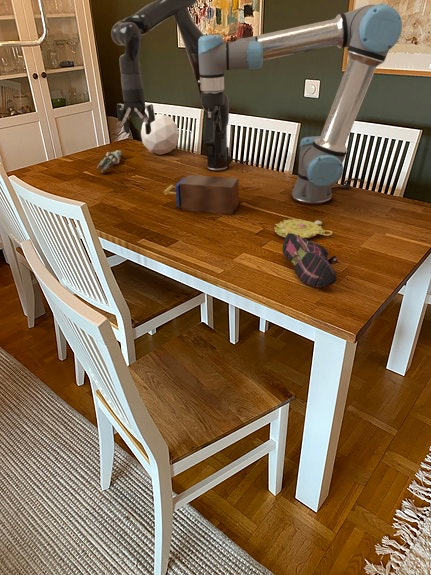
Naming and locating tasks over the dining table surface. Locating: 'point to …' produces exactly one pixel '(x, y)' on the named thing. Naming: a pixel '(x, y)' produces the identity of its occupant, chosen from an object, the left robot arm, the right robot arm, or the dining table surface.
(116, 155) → the figurine
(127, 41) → the left robot arm
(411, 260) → the dining table surface
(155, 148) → the sphere
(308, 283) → the athletic shoe
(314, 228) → the decorative object
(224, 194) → the cabinet
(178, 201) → the drawer
